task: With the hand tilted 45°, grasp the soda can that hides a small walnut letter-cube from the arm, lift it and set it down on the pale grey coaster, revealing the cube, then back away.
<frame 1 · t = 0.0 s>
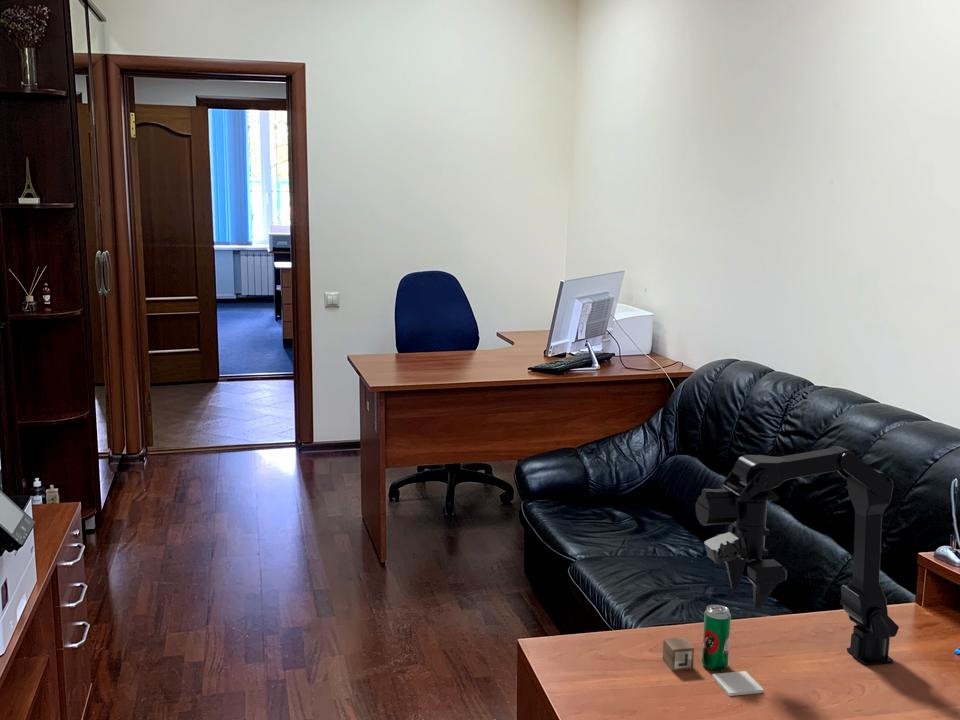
hand: (745, 598, 171), 15 cm above the table, tool pointing down, fingers open, 9 cm apart
coaster: (737, 684, 167), on the table
soda can: (714, 666, 174), on the table
letter cube: (677, 664, 175), on the table
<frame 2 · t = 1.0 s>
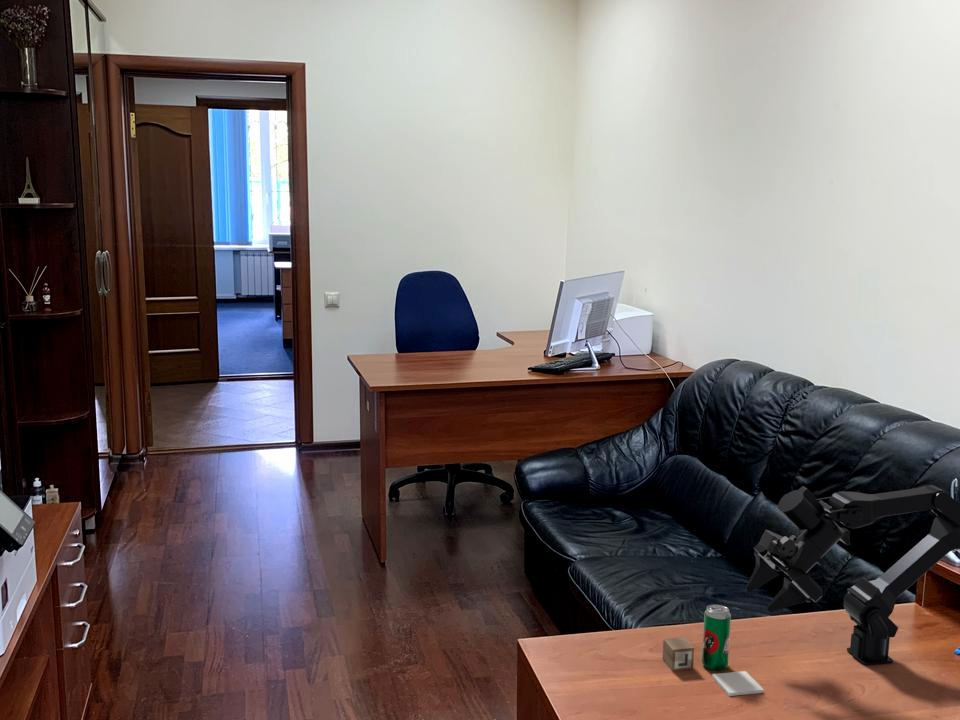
hand: (757, 600, 174), 13 cm above the table, tool tilted 45°, fingers open, 9 cm apart
nothing on the table moved.
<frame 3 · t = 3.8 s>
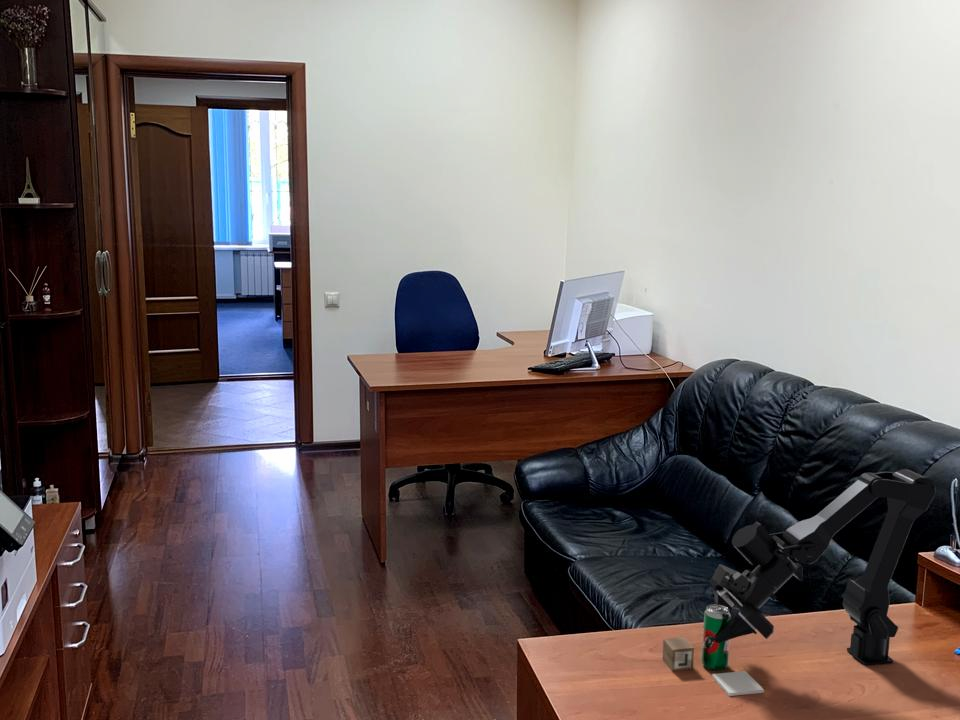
hand: (709, 635, 173), 7 cm above the table, tool tilted 45°, fingers closed on soda can, 5 cm apart
soda can: (714, 666, 174), on the table, touching gripper
everything else where it was.
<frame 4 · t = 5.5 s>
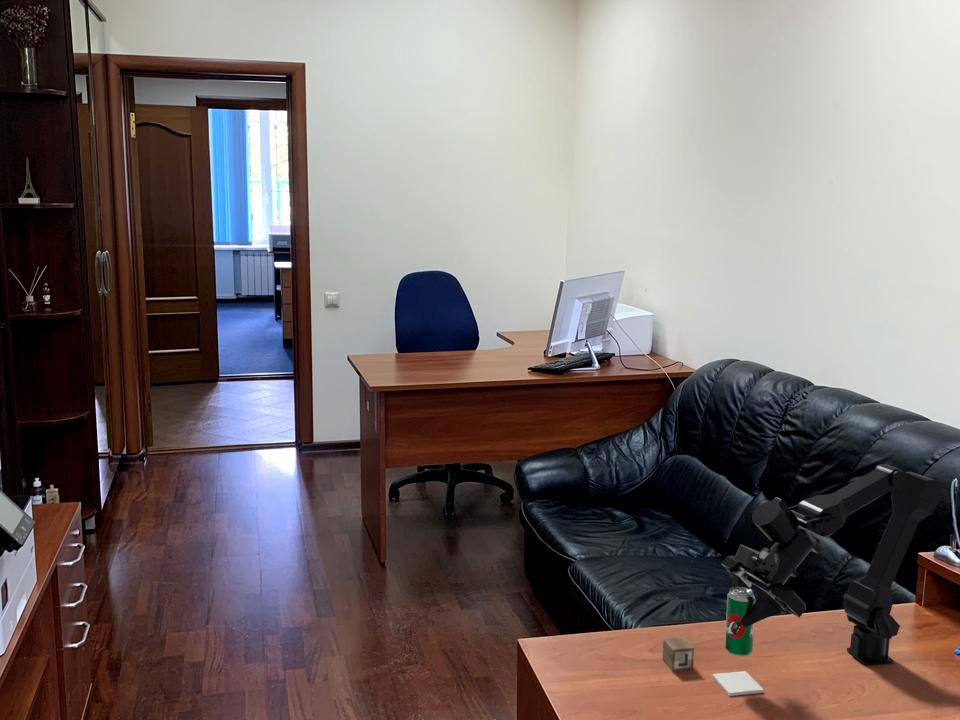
hand: (734, 619, 165), 13 cm above the table, tool tilted 45°, fingers closed on soda can, 5 cm apart
soda can: (738, 652, 167), point 6 cm above the table, touching gripper
everything else where it was.
when the fingers open (8 cm above the table, at t = 7.0 s): soda can drops 1 cm, resting on coaster.
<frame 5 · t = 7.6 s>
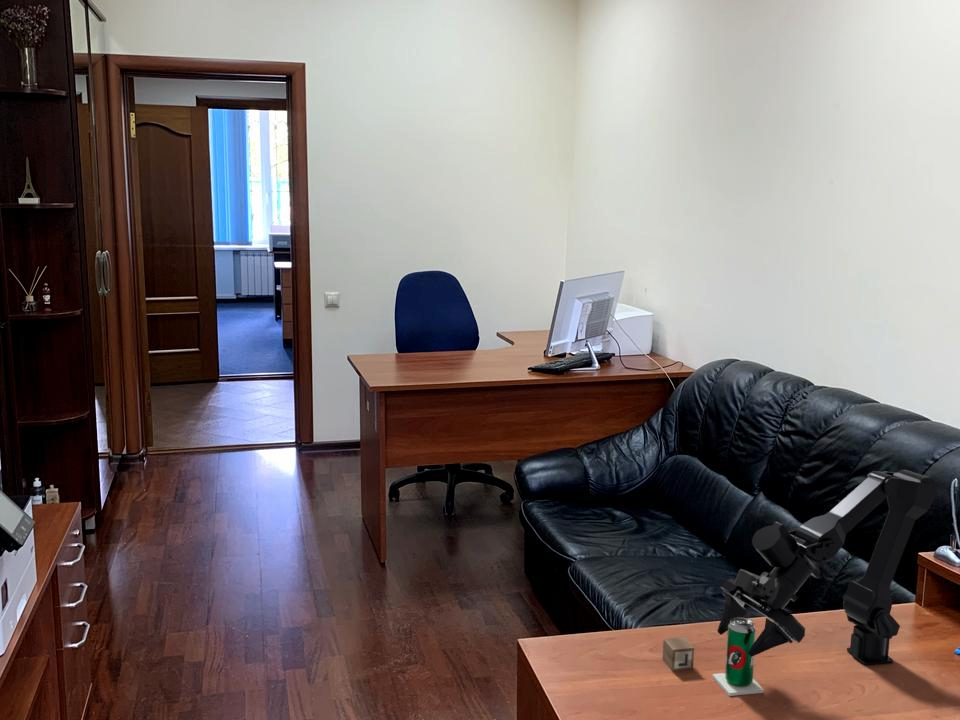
hand: (733, 643, 166), 9 cm above the table, tool tilted 45°, fingers open, 9 cm apart
soda can: (738, 682, 167), resting on coaster
everything else where it was.
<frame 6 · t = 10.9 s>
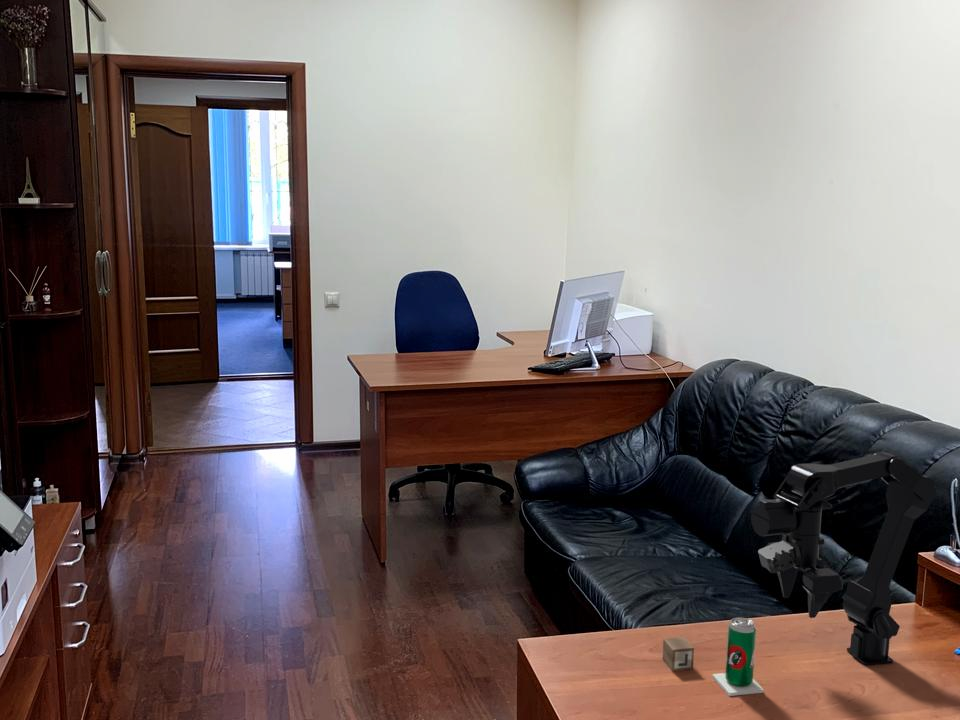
hand: (798, 607, 171), 13 cm above the table, tool pointing down, fingers open, 9 cm apart
nothing on the table moved.
at the end: soda can inside the target area on the coaster (0.3 cm from its centre), point 0.4 cm above the coaster's base; soda can tilted 0°; letter cube moved 0.1 cm from its start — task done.
